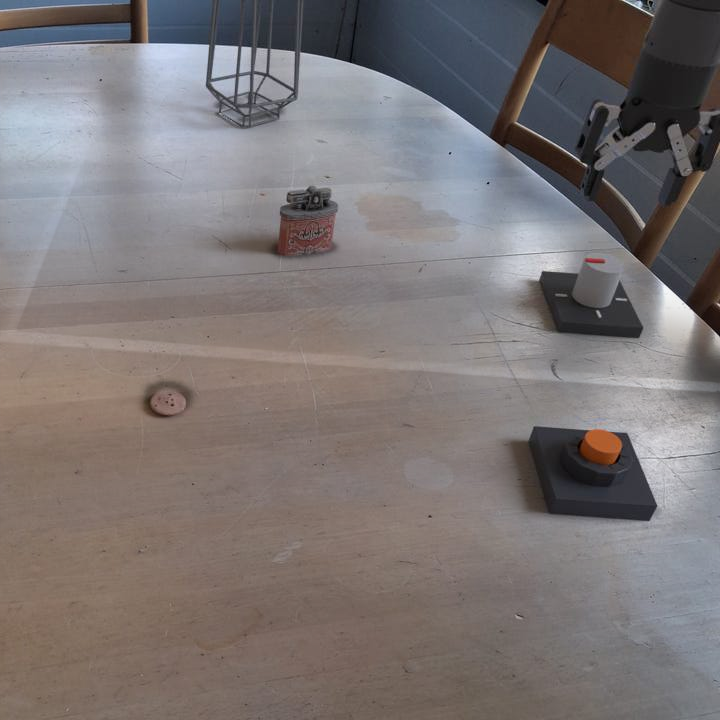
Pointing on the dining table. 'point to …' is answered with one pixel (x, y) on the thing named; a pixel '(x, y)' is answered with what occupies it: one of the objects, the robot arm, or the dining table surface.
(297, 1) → the geometric lantern
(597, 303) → the timer dial
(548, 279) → the dial panel
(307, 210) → the lighter
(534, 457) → the button block
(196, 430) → the dining table surface
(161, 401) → the cookie
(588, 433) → the button
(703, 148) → the robot arm
